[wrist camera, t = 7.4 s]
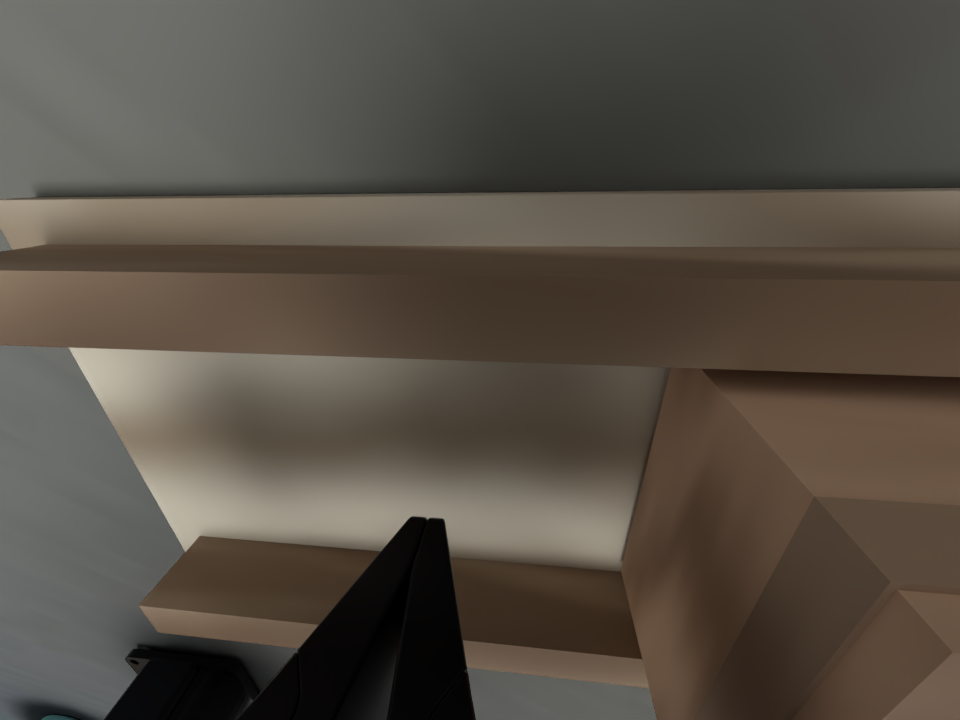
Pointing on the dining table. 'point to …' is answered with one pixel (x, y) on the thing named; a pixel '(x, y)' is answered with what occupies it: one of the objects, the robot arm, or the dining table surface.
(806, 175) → the dining table surface
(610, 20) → the dining table surface
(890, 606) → the crate
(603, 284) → the bay
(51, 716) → the cupcake
